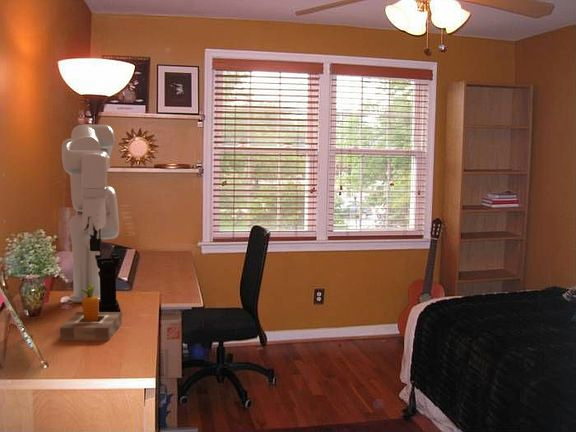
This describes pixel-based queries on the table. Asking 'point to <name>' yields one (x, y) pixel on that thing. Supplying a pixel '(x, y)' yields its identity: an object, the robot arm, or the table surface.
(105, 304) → the chess piece
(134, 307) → the table surface
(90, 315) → the carrot
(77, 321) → the seat block
